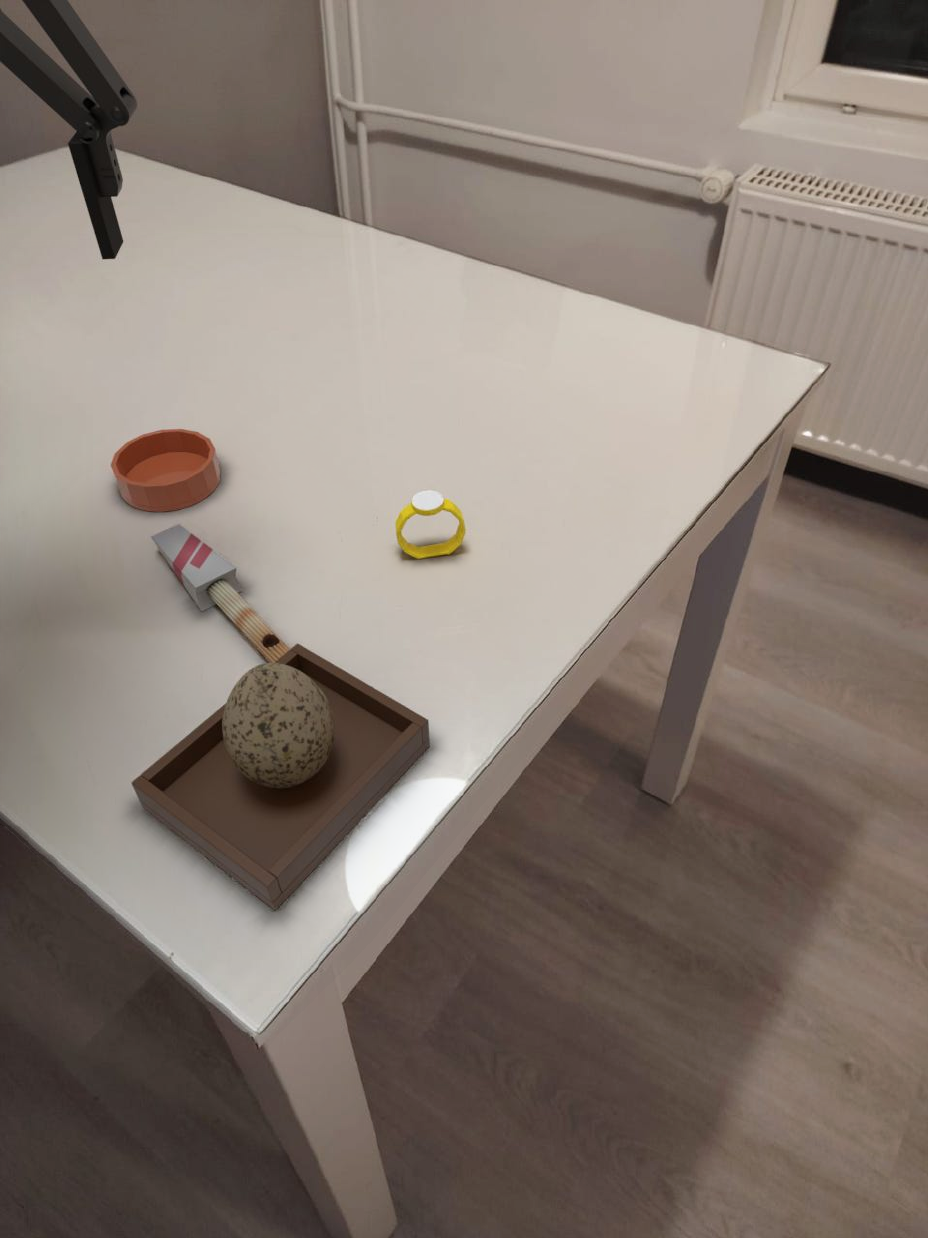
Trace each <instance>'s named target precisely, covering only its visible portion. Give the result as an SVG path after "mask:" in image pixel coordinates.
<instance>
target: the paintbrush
mask: <svg viewBox="0 0 928 1238" xmlns="http://www.w3.org/2000/svg"><path fill="white" fill-rule="evenodd" d="M150 538H151V540H152V541H153V543H154V544H155V546H156V547H157V548H158V550H159V551H160V553H161V554H162V556H163V557H164V558H165V560H166V562H167V563H168V565H169V566H170V567H171V569H172V571H173V572H174V573H175V575H176V576H177V578H178V579H179V581H180V582H181V583H182V585H183V587H184V588H185V589H186V591H187V592H188V594H189V596H190V597H191V598H192V600H193V601H194V603H195V604H196V605H197V607H198V609H199V610H200V611H201V612H204V611H205V610H208V609H210V608H212V607H214V606H215V605H217V606H218V607H219V609H221V611H222V612H224V614H225V615H226V616H227V617H228V618H229V619H230V621H231V622H232V623H233V624H234V625H235V626H236V627H237V628H238V629H239V630H240V631H241V632H242V634H243V635H244V636H245V637H246V638H247V639H248V640H249V641H250V643H252V645H253V646H254V647H255V648H256V649H257V650H258V651H259V652H260V654H262V655H263V657H264V658H265V659H266V660H267V661H268V663H275V662H276V661H277V660H278V659H279V658H280V657H282V656H283V655H284V654H285V653H286V652H288V651H289V650H291V648H290V647H289V646H288V645H287V644H286V643H285V642H284V641H283V640H282V638H280V636H279V635H278V634H277V633H276V632H275V631H274V630H273V629H272V628H271V627H270V626H269V625H268V624H267V622H265V620H263V618H262V617H261V616H260V615H259V614H258V613H257V612H256V610H255V609H253V608H252V607H251V606H250V604H248V602H247V601H246V600H245V599H244V598H243V597H242V596H241V595H240V594H239V593H241V592H242V588H241V586H240V585H239V582H238V580H237V577H236V575H237V569H238V568H237V566H235V565H234V564H233V563H232V562H231V561H229V560H228V559H226V558H225V557H224V556H222V555H221V554H219V552H217V551H216V550H214V549H213V548H212V547H211V546H209V545H208V544H207V543H205V542H204V541H203V540H202V539H200V538H199V537H197V536H196V535H195V534H193V533H192V532H191V531H190V530H188V529H187V528H186V527H184V526H183V525H182V524H180V523H177V524H176V525H174V526H171V527H169V528H167V529H165V530H162V531H160V532H157V533H155V534H153V535H151V536H150Z"/></svg>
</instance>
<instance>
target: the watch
mask: <svg viewBox="0 0 928 1238" xmlns="http://www.w3.org/2000/svg"><path fill="white" fill-rule="evenodd" d="M442 511H445V512H448V513H451V515H453V516H454V517H455V518H456V519H457V520H458V521H459V522H458V526H457V529H456V531H455V534H454V535H452V536H451V537H450V538H449V539H447V541H446V542H440V543H435V544H429V545H423V546H417V545H415V544H413V543H410V542H408V541H407V539H406V538H405V537H404V536H403V535H402V531H403V529H404V527H405V525H406V523H407V521H408V520H410V519H411V518H412V517H414V516H415V515H416V514H417V515H418V516H423V517H431V516H434V515H438V514H439V513H441V512H442ZM466 532H467V530H466V525H465V520H464V515H463V513H462V511H461V509H460V508H459V507H458V506H457V505H456V504H455V503H454V502H453V501H451V500H450V499H447V498H444V496H443V494H441V493H440V492H438V491H436V490H429V489H428V490H422V491H419V492H417V493H415V494H414V495H413V496H412V498H411V501H410V503H409V504H407V505H406V506H404V507H403V508H402V509H401V511H400V512H399V514H398V515H397V517H396V520H395V534H396V540H397V543H398V546H399V547H400V548H401V550H402V551H403V552H404V553H405V554H407V555H408V556H411V557H413V558H415V559H417V560H421V559H425V558H431V557H438V556H444V555H450V554H452V553H453V552H454V551H455V550H456V549H457V548H458V547H460V546H461V544H462V543H463V540H464V538H465V535H466Z"/></svg>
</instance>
